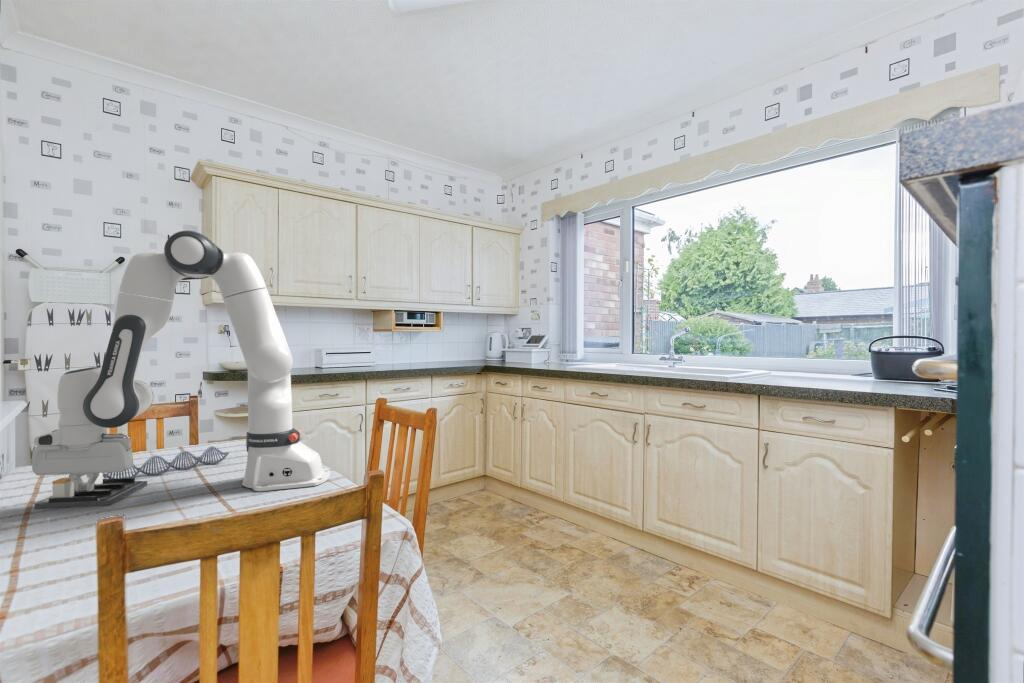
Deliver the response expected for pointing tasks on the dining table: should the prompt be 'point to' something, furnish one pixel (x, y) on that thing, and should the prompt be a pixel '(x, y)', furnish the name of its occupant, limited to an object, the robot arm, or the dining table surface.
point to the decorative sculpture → (172, 463)
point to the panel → (96, 494)
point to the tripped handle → (63, 488)
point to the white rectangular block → (83, 477)
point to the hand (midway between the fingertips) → (85, 490)
